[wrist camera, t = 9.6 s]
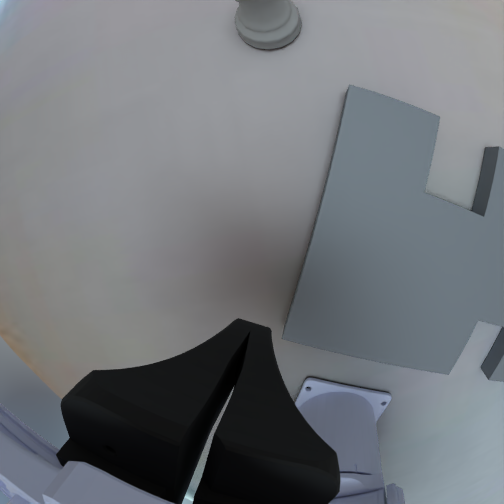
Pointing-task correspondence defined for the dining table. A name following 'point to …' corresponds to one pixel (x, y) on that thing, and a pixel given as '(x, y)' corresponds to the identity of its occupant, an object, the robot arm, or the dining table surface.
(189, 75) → the dining table surface
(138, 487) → the robot arm
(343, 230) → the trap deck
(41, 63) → the dining table surface
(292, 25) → the rook chess piece
